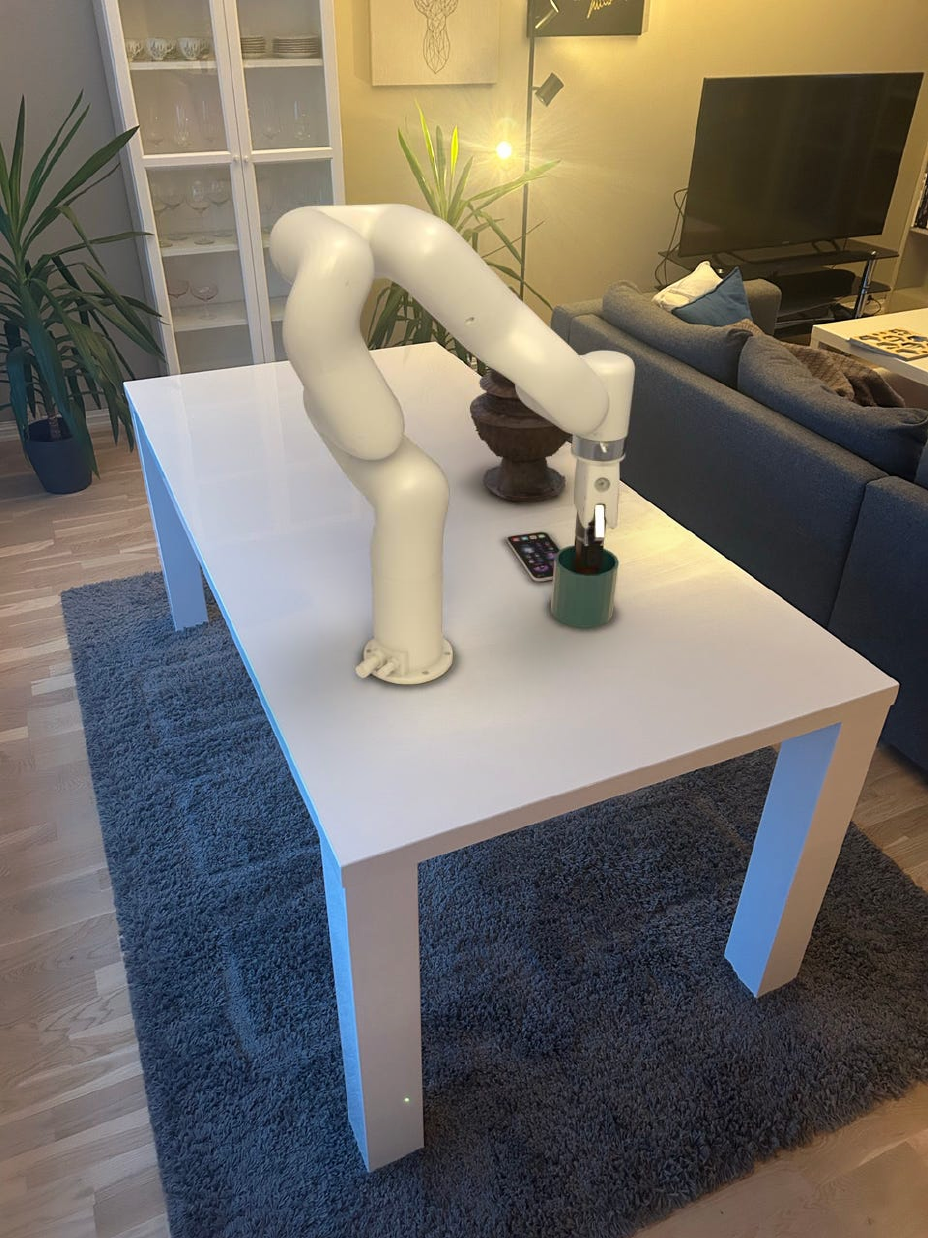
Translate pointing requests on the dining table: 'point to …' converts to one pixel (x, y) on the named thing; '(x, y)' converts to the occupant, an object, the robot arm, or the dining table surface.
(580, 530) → the brown rounded cylinder
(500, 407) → the decorative urn
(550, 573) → the smartphone
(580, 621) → the cup
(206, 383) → the dining table surface
